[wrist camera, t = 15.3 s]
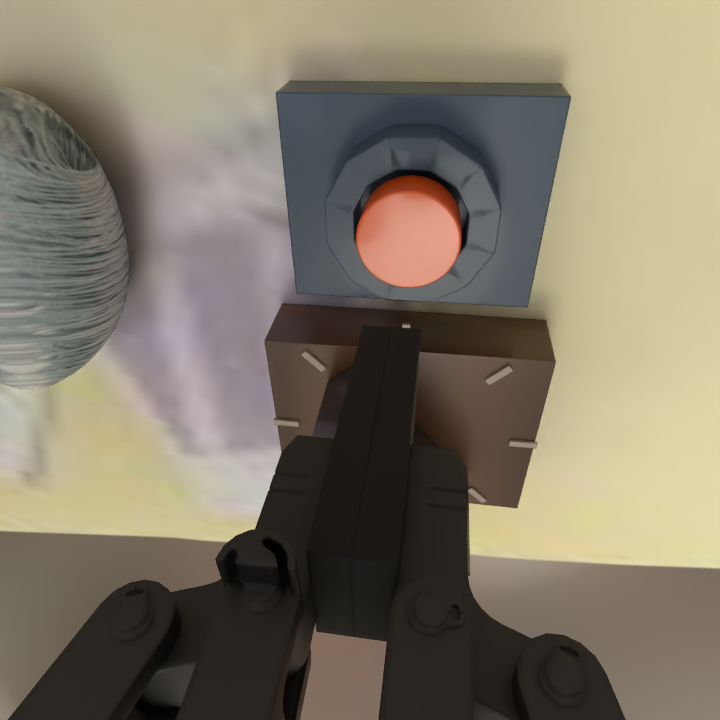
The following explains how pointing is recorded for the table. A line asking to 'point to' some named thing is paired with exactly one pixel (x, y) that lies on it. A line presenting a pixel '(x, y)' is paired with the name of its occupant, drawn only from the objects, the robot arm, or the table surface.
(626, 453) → the table surface
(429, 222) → the button
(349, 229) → the buzzer
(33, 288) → the grey striped ovoid
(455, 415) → the dial console
